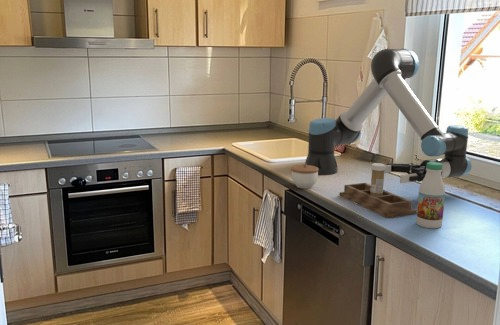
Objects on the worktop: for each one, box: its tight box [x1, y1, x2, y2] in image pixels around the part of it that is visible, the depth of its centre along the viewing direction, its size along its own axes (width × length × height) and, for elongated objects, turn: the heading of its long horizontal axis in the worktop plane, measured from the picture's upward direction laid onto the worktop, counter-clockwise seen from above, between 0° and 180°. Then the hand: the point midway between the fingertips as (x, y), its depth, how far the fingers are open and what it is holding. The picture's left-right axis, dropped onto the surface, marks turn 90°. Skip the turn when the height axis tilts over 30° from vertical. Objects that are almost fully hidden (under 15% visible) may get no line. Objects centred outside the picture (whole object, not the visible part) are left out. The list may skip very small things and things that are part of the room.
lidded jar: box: [290, 163, 319, 190], centre depth 198 cm, size 11×11×9 cm
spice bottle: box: [370, 162, 386, 196], centre depth 176 cm, size 5×5×14 cm
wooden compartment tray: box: [338, 182, 417, 219], centre depth 177 cm, size 28×12×4 cm, turn 24°
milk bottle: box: [415, 162, 446, 229], centre depth 154 cm, size 8×8×20 cm
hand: (387, 174), depth 176 cm, fingers open, 13 cm apart
